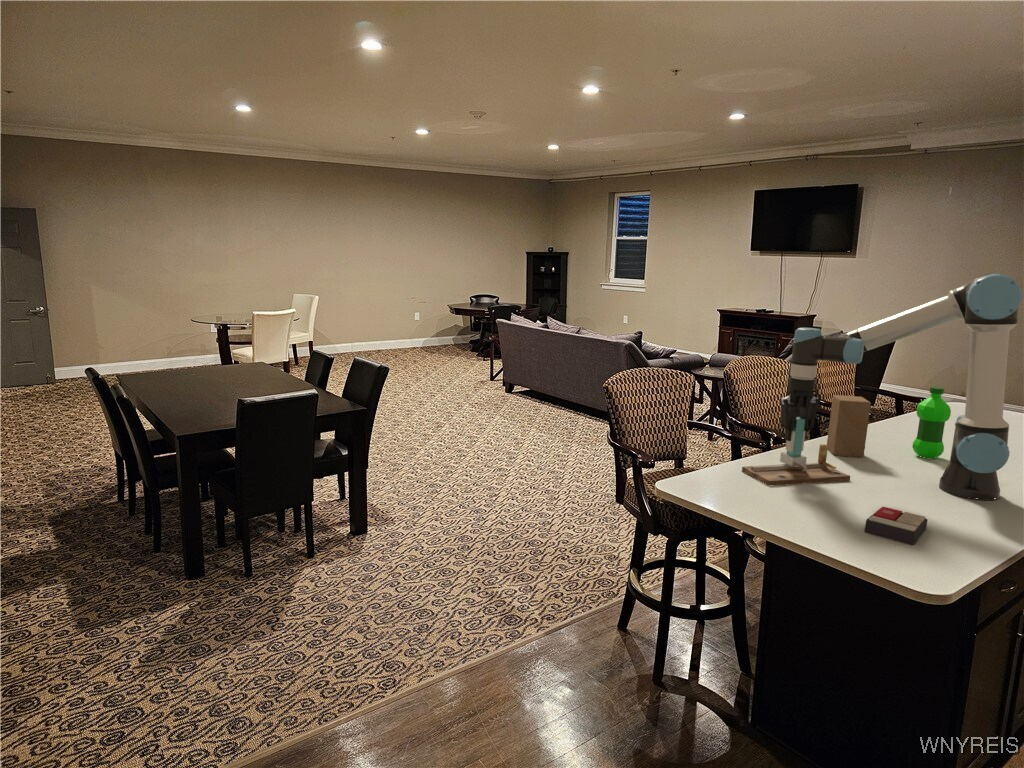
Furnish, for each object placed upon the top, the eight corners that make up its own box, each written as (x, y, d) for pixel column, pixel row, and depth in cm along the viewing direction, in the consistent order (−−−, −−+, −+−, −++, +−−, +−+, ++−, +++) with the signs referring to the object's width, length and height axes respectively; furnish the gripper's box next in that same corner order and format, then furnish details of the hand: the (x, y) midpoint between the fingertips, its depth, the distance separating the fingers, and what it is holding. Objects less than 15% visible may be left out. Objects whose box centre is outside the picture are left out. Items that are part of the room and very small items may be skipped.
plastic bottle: (950, 459, 234) (961, 390, 229) (929, 462, 230) (940, 391, 225) (923, 451, 243) (934, 384, 238) (903, 454, 239) (913, 385, 234)
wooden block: (863, 458, 232) (871, 402, 229) (833, 455, 234) (840, 400, 231) (855, 450, 242) (862, 396, 238) (825, 448, 244) (832, 394, 240)
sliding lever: (812, 472, 207) (818, 422, 204) (798, 473, 206) (804, 423, 203) (792, 463, 216) (798, 415, 213) (779, 464, 215) (784, 416, 212)
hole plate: (849, 480, 207) (853, 453, 205) (769, 485, 200) (772, 457, 198) (818, 466, 220) (821, 441, 219) (741, 471, 213) (744, 445, 211)
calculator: (928, 516, 170) (916, 529, 159) (926, 532, 171) (913, 546, 159) (881, 504, 177) (866, 516, 166) (878, 520, 178) (863, 533, 167)
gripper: (816, 375, 213) (807, 445, 217) (772, 375, 209) (764, 447, 213) (832, 379, 206) (823, 452, 210) (788, 380, 202) (779, 454, 206)
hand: (794, 450), depth 212 cm, fingers closed on sliding lever, 3 cm apart
